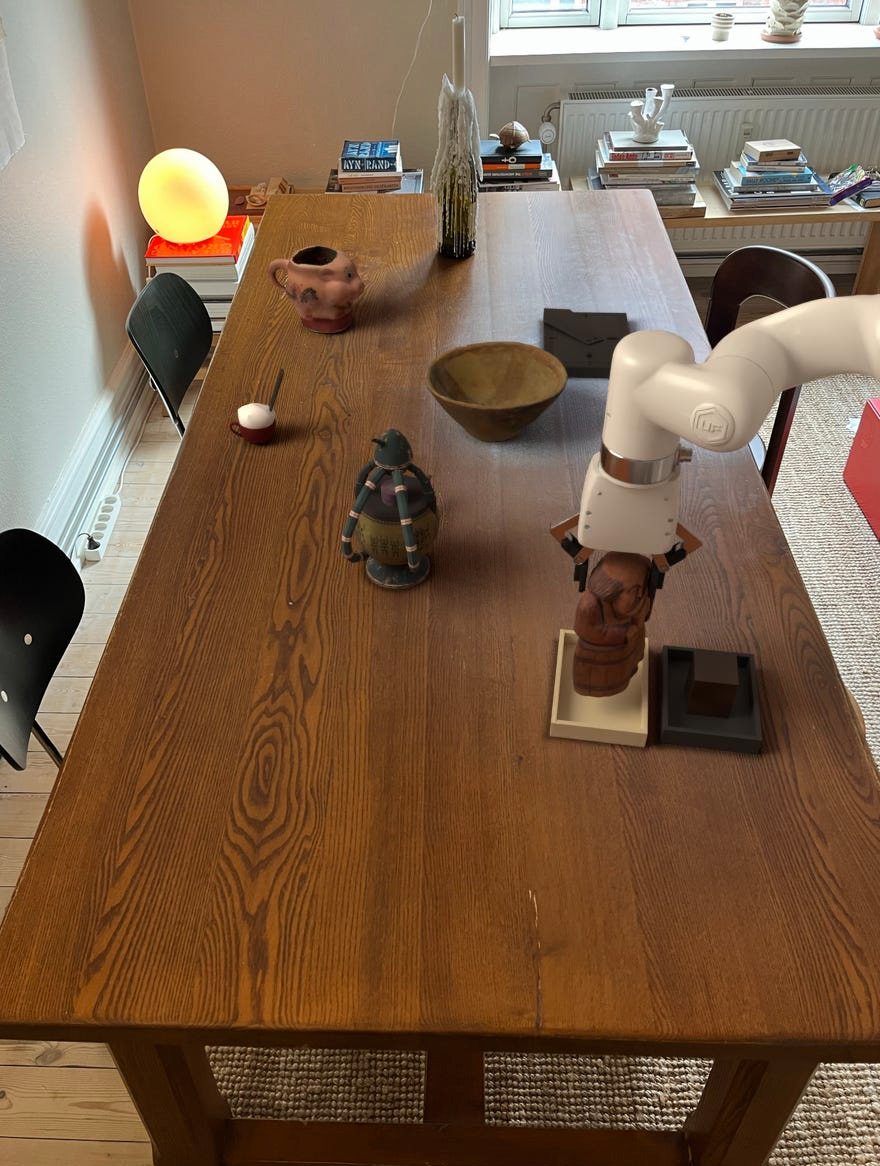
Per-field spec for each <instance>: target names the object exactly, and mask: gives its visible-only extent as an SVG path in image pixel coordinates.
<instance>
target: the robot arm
mask: <svg viewBox="0 0 880 1166" xmlns="http://www.w3.org/2000/svg"><path fill="white" fill-rule="evenodd" d="M695 358H696V357H695V352H694V349H693V347H692V345H691V343H689V341H688V340H686V339H685V338H684V337H682V336H680V335H678V334H676V333H674V332H670V331H667V330H661V329H642V330H638V331H634V332H632V333H629V335H627V336H625V337H624V338H623V339H622V340H621V341H620V342H619V343H618V344H617V346H616V348H615V350H614V353H613V358H612V364H611V372H610V378H609V381H608V388H607V396H606V403H605V411H604V420H603V427H602V435H601V441H600V442H601V443H600V451H597V452H596V453H595V454H593V456H592V457H591V459H590V462H589V465H588V468H587V471H586V474H585V478H584V483H583V487H582V491H581V492H582V493H581V498H580V504H579V506H578V507H577V508H575V509H573V510H570V511H569V512H567V513H566V514H563V515H561V516H560V517H558V518H556V519H554V520H553V521H551V522H550V524H549V534H550V535H551V536H552V537H553V538H554V540H555V541H556V542H557V543H559V544H560V547H561V550H563V551H564V552H565V553H566V554H567V555H568V556H570V557H571V558H572V559H573V560H572V562H573V563H574V572H573V582H578V593H579V594H583V593H584V591H585V590H586V588H587V581H588V580H587V579H588V574H589V573H588V572H589V561H590V556H591V555H592V554H593V553H594V552H595V551H596V550H598V551H599V550H600V551H607V552H610V551H618V552H629V553H639V554H641V555H651V557H652V558H651V562H652V563H651V569H650V574H649V584H648V598H650V599H652V600H654V601H655V599H656V593H657V590H663V587H664V581H665V578H666V573H668V572H669V571H670V570H671V567H673V566H675V565H677V564H679V563H680V562H681V561H683V560H686V558H687V556H688V555H691V554H692V553H694V552H696V550H698V549H699V548H701V547H702V546H703V535H702V534H701V532H698V530H696V529H695V528H694V527H693V526H692V525H690V524H689V523H688V522H687V521H686V520H685V519H684V518H682V517H681V516H680V515H679V513H680V506H681V505H680V503H681V491H682V464H683V463H686V462H687V463H691V462H692V460H693V452H694V451H693V448H690V447H686V446H682V443H681V439H683V440H685V441H686V442H689V443H690V444H693V445H694V446H696V447H698V448H701V449H703V450H706V451H710V452H714V453H723V454H725V453H727V454H728V453H732V452H737V451H739V450H741V449H743V448H745V447H746V446H747V445H749V444H750V443H751V442H752V441H753V440H754V439H755V437H756V436H757V435H758V434H759V431H760V430H761V428H762V427H763V424H764V423H765V421H766V419H767V417H768V415H769V414H770V412H771V410H772V409H773V407H774V405H775V403H776V402H777V400H778V398H779V397H780V395H781V393H782V392H785V391H787V390H789V389H793V388H795V387H798V386H802V385H805V384H808V383H812V382H815V381H818V380H821V379H826V378H829V377H833V376H834V377H835V376H840V375H848V374H849V375H850V374H854V375H855V374H858V375H865V376H868V377H871V378H873V379H875V380H876V381H877V383H878V384H879V385H880V293H878V294H855V295H847V296H846V295H844V296H831V297H824V298H818V299H814V300H810V301H806V302H803V303H800V304H797V305H794V306H791V307H789V308H785V309H783V310H779V311H777V312H774V313H773V314H772V313H771V314H769V315H767V316H764V317H761V318H758V319H755V320H752V321H751V322H747V323H746V324H744V325H742V326H740V327H737V328H736V329H734V330H732V331H731V332H729V333H728V334H727V335H725V336H724V337H723V338H722V339H720V341H719V342H718V343H717V344H716V345H715V347H713V349H712V351H710V353H709V354H708V356H707V357H706V359H705V360H704V361H703V362H701V363H697V362H696V359H695ZM575 527H577V537H576V536H575V535H574V534H572V533H571V532H569V530H571V529H573V528H575ZM676 536H678V537H679V538H680V539H681V541H678V542H676V543H675V539H676Z"/></svg>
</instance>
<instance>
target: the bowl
mask: <svg viewBox="0 0 880 1166" xmlns="http://www.w3.org/2000/svg"><path fill="white" fill-rule="evenodd" d="M568 379H569V377H568V375H567V372H566V369H565V368H564V366H563V364H562V363H561V362H560V360H559V359H558V358H556V357H555V356H554V355H552V354H551V353H549V352H547V351H545V350H543V348H541V347H538V346H534V345H532V344H528V343H523V342H520V341H505V340H504V341H485V342H476V343H471V344H470V343H469V344H466V345H464V346H463V345H460V346H457V347H454V348H452V349H448V350H446V351H444V352H442V353H440V354H439V355H438V356H436V357H435V358H434V359H433V360H432V361H431V362H430V363H429V364H428V366H427V369H426V371H425V375H424V381H425V386H426V388H427V390H428V391H429V392H430V394H431V395H432V396H433V398H434V399H435V401H436V402H437V403H438V404H439V405H440V406H441V408H442V409H443V410H444V411H445V412H446V413H447V414H448V415H449V416H450V417H451V419H453V420H454V421H455V422H456V423H457V424H458V425H459V426H461V428H463V429H464V430H465V432H466V433H467V434H468V435H469V436H471V437H473V438H475V439H477V440H480V441H483V442H489V443H493V442H503V441H507V440H509V439H512V438H514V437H516V436H517V435H520V433H521V432H523V431H524V430H525V429H526V428H528V427H529V426H530V425H531V424H533V423H534V422H535V421H536V420H538V418H540V417H541V416H542V415H544V414H545V412H546V411H547V410H548V409H549V408H550V407H551V406H552V405H553V404H554V403H555V402H556V401H557V399H558V398H559V397H560V396H561V395H562V393H563V392H564V390H565V388H566V386H567V384H568Z"/></svg>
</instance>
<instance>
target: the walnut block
mask: <svg viewBox="0 0 880 1166" xmlns="http://www.w3.org/2000/svg"><path fill="white" fill-rule="evenodd" d="M738 686H739V682H738V669H737V656H736V655H733V654H723V653H713V652H704V651H694V652H693V656H692V660H691V664H690V668H689V672H688V676H687V680H686V684H685V688H686V714H692V715H701V716H710V717H719V718H729V715H730V712H731V709H732V706H733V702H734V699H735V696H736V692H737V689H738Z"/></svg>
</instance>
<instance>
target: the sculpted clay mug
mask: <svg viewBox="0 0 880 1166" xmlns="http://www.w3.org/2000/svg"><path fill="white" fill-rule="evenodd" d="M278 270H283V271H284V272H285V273H286V274H287V279H286V282H285V286H284V285H282V284H281V283H280V282H279V280H278V279H277V271H278ZM267 272H268V276H269V279H270V280H271V283H272V284H273V285H274V286H275V287H278V288H279V289H281V290H282V291H283V292H284V293H285V294H286V296H287V299H288V300H289V301H290V303H291V304H292V305H293V306H294V308H295V310H296V312H297V313H298V316H299V318H300V321H301V324H302V326H303V327H304V329H306V330H309V331H311V332H315V333H323V334H334V333H339V332H341V331H343V330H345V329H346V328H348V327H349V326H351V325H352V323H353V319H354V308H353V303H354V301H355V300H357V299H358V298H359V297H361V296H362V295H363V294H364V292H365V289H366V285H365V282H364V281H363V280H362V278H361V275H360V274H359V272H358V269H357V267H356V264H355V262H354V261H353V260H352V259H351V258H350V257H349V256H348V255H347V254H346V252H345V251H342V250H339V249H336V248H334V247H330V246H327V245H310V246H306V247H303V248H300V249H298V250H296V251H295V252H294V253H292V254H291V256H290V258H276V259H274V260H272V261H271V262H270V263H269V265H268V267H267Z"/></svg>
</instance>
